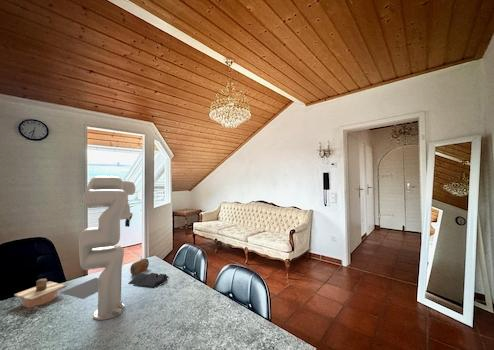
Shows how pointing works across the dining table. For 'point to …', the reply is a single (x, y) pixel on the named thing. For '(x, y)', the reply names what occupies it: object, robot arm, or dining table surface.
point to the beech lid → (40, 290)
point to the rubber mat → (83, 289)
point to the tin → (139, 266)
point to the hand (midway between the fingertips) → (120, 227)
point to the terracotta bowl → (39, 300)
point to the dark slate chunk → (148, 280)
